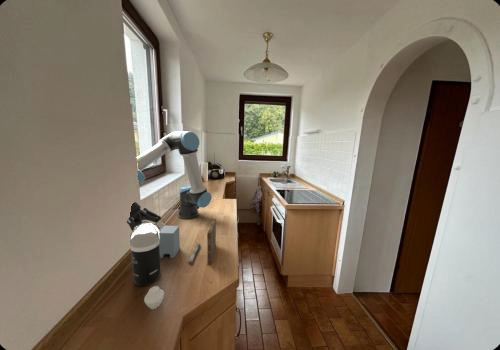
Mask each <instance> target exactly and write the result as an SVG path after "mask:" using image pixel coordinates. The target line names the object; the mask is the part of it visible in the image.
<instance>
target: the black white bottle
mask: <svg viewBox="0 0 500 350" xmlns="http://www.w3.org/2000/svg"><path fill="white" fill-rule="evenodd" d="M159 231H160V230H159V229H158V226H157V225H156V224H155V225H154V224H153V223H151V222H150V221H149V222H148V221H147V220H143V221H142V222H141V223H140V224H139V225H138V226H137V227H135V228H134V230H133V231H132V230H131V232H130V234H129V235H130V236H129V243H130V247H129V249H130V250H131V251H130V252H131V267H132V279H133V283H134V284H135V285H137V286H140V287H141V286H143V287H144V286H149V285H151V284H153V283H155V282H156V281H157V280H158V279H159V278H160V277H161V273H162V271H161V270H162V269H161V268H162V267H161V258H160V247H159V243H160V240H159Z"/></svg>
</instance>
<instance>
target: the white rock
mask: <svg viewBox="0 0 500 350" xmlns="http://www.w3.org/2000/svg"><path fill="white" fill-rule="evenodd" d="M164 298H165V291H164V290H163V289H161V288H160V287H159V286H158V285H154V286H152V287H150V288H149V290H148V291H147V293H146V294H145V295H144V298H143V300H144V302H143V303H145V305H146V306H147V307H148V308H149V309H150V310H155V309H158V308H159V307H160V305H161V303H162V302H163V300H164ZM157 307H158V308H157Z"/></svg>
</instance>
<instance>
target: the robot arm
mask: <svg viewBox="0 0 500 350" xmlns="http://www.w3.org/2000/svg"><path fill="white" fill-rule="evenodd" d="M199 147H200V138H199V136H198V135H197V133H195V132H193V131H188V130H185V131H184V130H183V131H179V130H178V131H172V132H171V133H170V132H169V134H167V135H165V136H164V137H162V138H161V139H159V140H158V143H157V144H155V145H154V146H152V147H150V148H149V149H148V150H146V151H144V152H143V153H141V154H140V155H138V156H137V157H136V158H137V163H138V176H137V177H138V180H139V185H140V184H141V185H142V183H143V182H144V181H145V180H146V176H145V174H144V173H143V170H145V169H146V168H148V167H149V166H151V164H153V163H154V162H156V161H158V159H160V158H161V157H163V156H164V155H166V154H167V153H168V154H169V153H172V152H173V151H175V150H178V153H179V155H181V156H182V158H183V163H184V165H185V166H184V167H185V170H186V174H187V177H188V178H187V179H188V181H189V185H188V186H182V187H180V188H179V204H180V205H179V210H178V213H177V216H178V217H177V218H179V219H181V220H190V219H194V218H197V217H198V216H199V210H198V208H202V209H203V208H206V207H208V206H209V205H210V203H211V201H212V194H211V192H209V191H208V190H207V187H206V185H204V181H203V177H202V173H201V169H200V165H199V160H198V157H197V154H198V151H199ZM141 208H142V206H141V205H140V204H139V203H137V202H136V201H134V203H133V204H132V206H131V212H130V217H129V218H127V219H126V220H127V222H126V224H127V225H128V226H129V229H130V230H131V232H132V231H133V230H134V228H135V227H137V226H138V225H139V224H140V223H141V222H143V221H147V222H148V221H149V222H153V223H155V226H156V227H157V228H158V227H159V228H160V230H161V229H162V228H163V227H164V226H167V225H166V224H165V223H164V222H162V218H161V216H160V215H158V214H156V213H154V212H152V211H151V210H148V208H146V207H144V208H143V209H141Z"/></svg>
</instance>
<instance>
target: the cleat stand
mask: <svg viewBox="0 0 500 350" xmlns="http://www.w3.org/2000/svg"><path fill="white" fill-rule="evenodd" d="M206 234H207V235H206V236H207V241H206V242H207V243H206V244H207V247H206V248H207V251H206V252H207V265H209V266H210V265H211V264H212V261H213V257H214V254H215V250H216V246H217V245H216V243H217V239H216V237H217V219H216V218H213V219H212V221H211V222H210V225H209V227H208V229H207V233H206ZM200 246H201V243H200V242H198V243H196V245H195V247H194V249H193V252H192V254H191V256H190V258H189V259H188V265H193V263H194V260H195V258H196V256H197V255H198V251H199V249H200Z"/></svg>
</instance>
